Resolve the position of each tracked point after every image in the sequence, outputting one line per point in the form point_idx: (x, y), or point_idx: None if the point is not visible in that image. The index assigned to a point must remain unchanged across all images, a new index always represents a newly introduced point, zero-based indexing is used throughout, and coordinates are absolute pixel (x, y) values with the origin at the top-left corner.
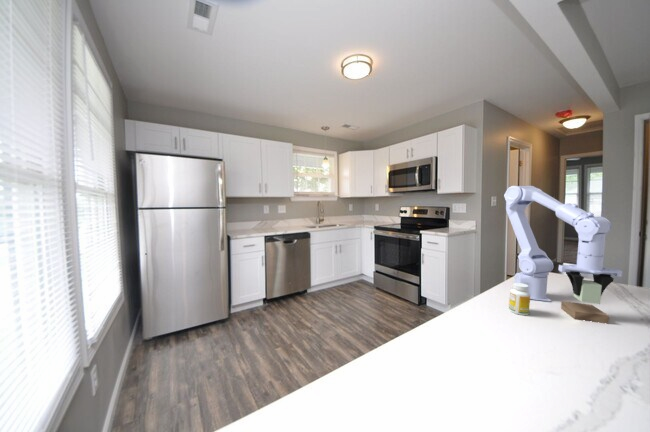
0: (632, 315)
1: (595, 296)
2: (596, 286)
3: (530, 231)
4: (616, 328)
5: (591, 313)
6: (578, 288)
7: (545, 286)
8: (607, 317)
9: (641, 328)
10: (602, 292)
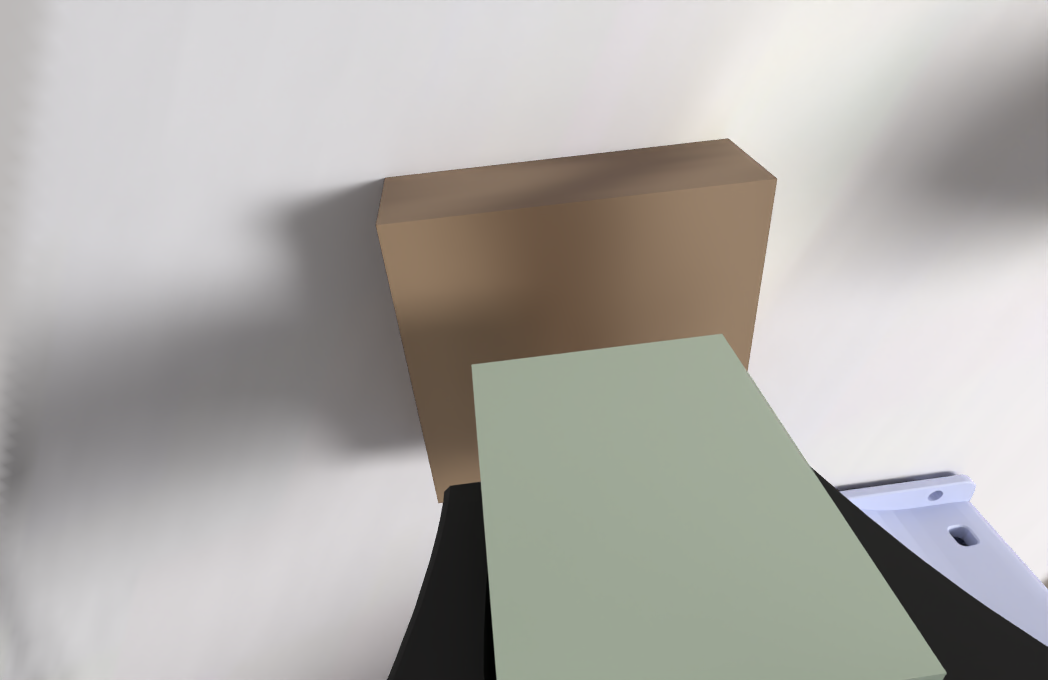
0: (81, 524)
1: (564, 444)
2: (617, 667)
3: None
4: (339, 58)
5: (584, 202)
6: (886, 542)
7: None
8: (395, 210)
9: (52, 212)
10: (432, 578)
